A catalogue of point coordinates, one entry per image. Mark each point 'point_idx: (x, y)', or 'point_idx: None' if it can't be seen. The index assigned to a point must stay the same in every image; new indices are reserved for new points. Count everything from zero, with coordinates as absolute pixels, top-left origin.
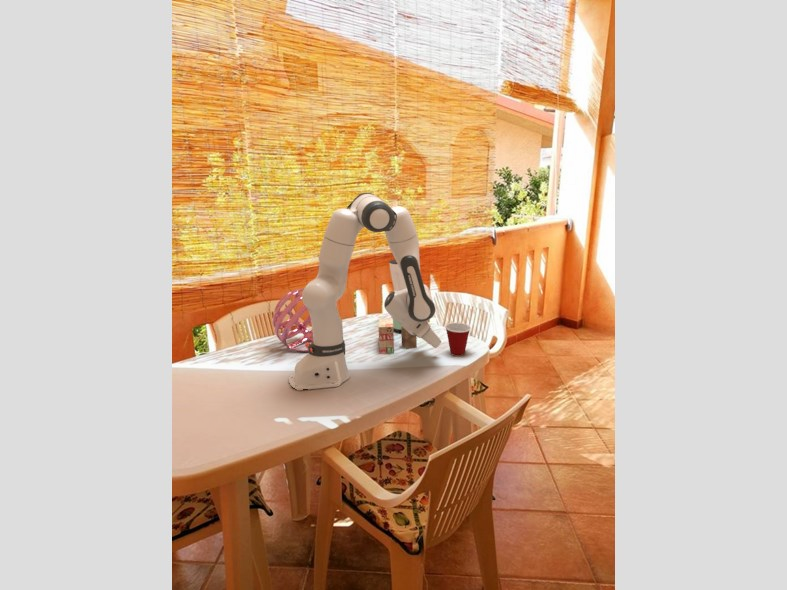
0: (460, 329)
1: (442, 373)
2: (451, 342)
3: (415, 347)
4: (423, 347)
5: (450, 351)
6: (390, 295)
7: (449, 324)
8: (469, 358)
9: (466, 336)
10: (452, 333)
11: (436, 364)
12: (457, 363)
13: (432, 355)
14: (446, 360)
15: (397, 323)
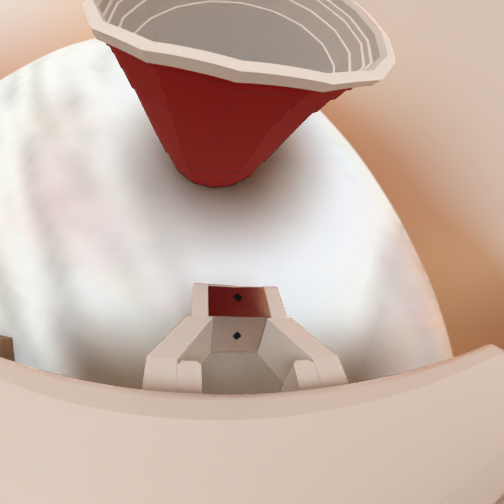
0: (167, 3)
1: (433, 357)
2: (258, 151)
3: (11, 346)
4: (21, 298)
5: (197, 181)
6: None
7: (100, 7)
8: (317, 139)
9: (311, 39)
10: (333, 93)
11: (338, 356)
12: (365, 233)
13: (172, 319)
14: (303, 270)
15: None
